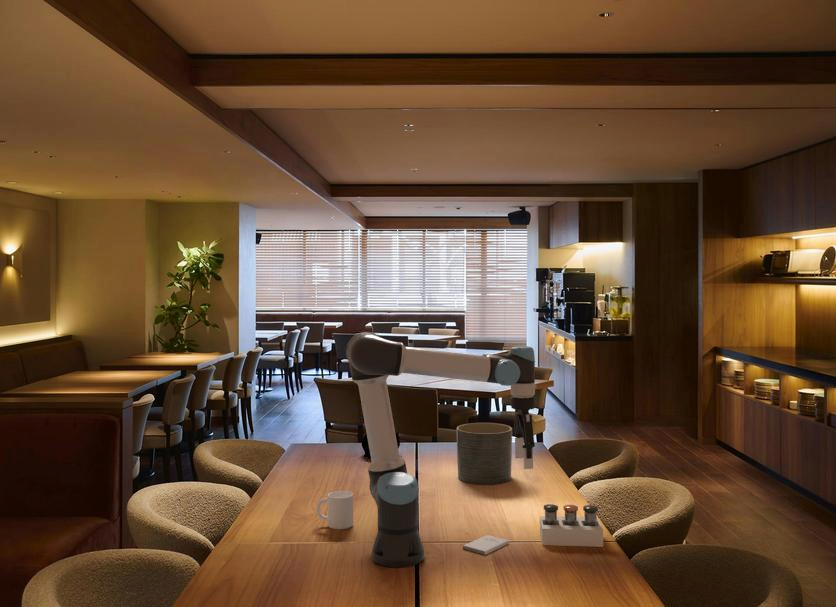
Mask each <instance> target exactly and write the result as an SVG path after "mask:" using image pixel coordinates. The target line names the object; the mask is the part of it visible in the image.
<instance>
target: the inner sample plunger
mask: <svg viewBox="0 0 836 607" xmlns="http://www.w3.org/2000/svg"><path fill="white" fill-rule="evenodd" d="M543 510H544V516H545V525H557V517H558V510H559V506H558V505H557V504H551V503H550V504H544V505H543Z"/></svg>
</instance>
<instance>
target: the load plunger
mask: <svg viewBox="0 0 836 607" xmlns="http://www.w3.org/2000/svg"><path fill="white" fill-rule="evenodd" d="M562 507H563V511H564V517H565V526H577V517H578V513H577V512H578V511H579V506H577V505H575V504H565V505H563V506H562Z"/></svg>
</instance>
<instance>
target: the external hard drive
mask: <svg viewBox="0 0 836 607" xmlns="http://www.w3.org/2000/svg"><path fill="white" fill-rule="evenodd" d="M509 542H510V541H509V540H508V539H505V538H501V537H497V536H492V535H490V534H487V535H483V536H482V537H480V538H478V539H475V540H472V541H470V542H468V543H466V544H464V545H462V549H463V550H466V551H469V552H473V553H476V554H480V555H483V556H486V555H489V554H491V553H493V552H495V551H497V550H498V549H500V548H503V547H505V546H507V545H509V544H510V543H509Z"/></svg>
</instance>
